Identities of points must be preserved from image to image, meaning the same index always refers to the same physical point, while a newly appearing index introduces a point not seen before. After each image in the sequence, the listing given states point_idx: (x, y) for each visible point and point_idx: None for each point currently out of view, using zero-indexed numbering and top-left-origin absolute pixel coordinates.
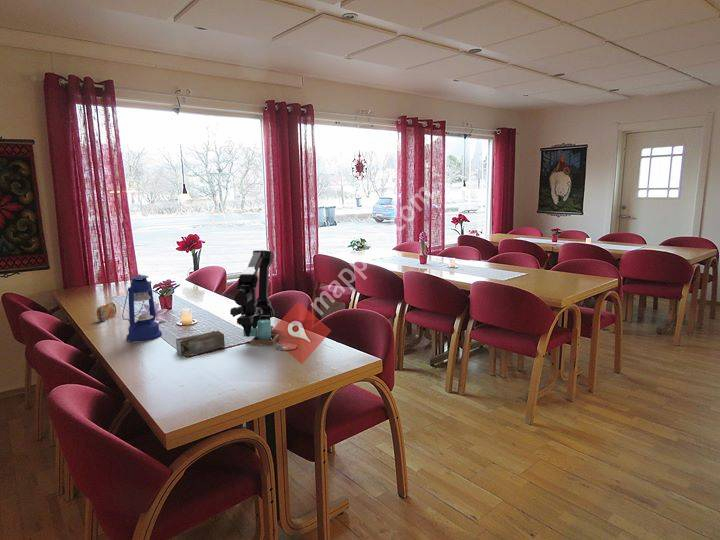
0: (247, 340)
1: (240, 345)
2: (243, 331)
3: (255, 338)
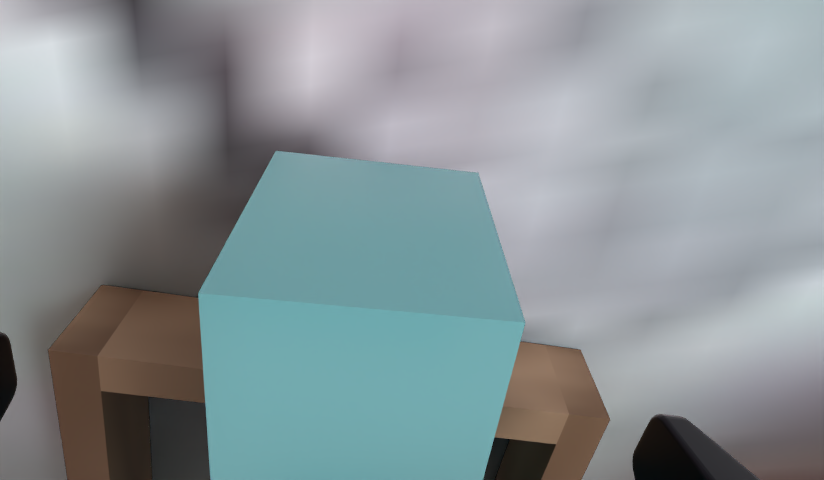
0: (457, 159)
1: (39, 40)
2: (229, 245)
3: None
